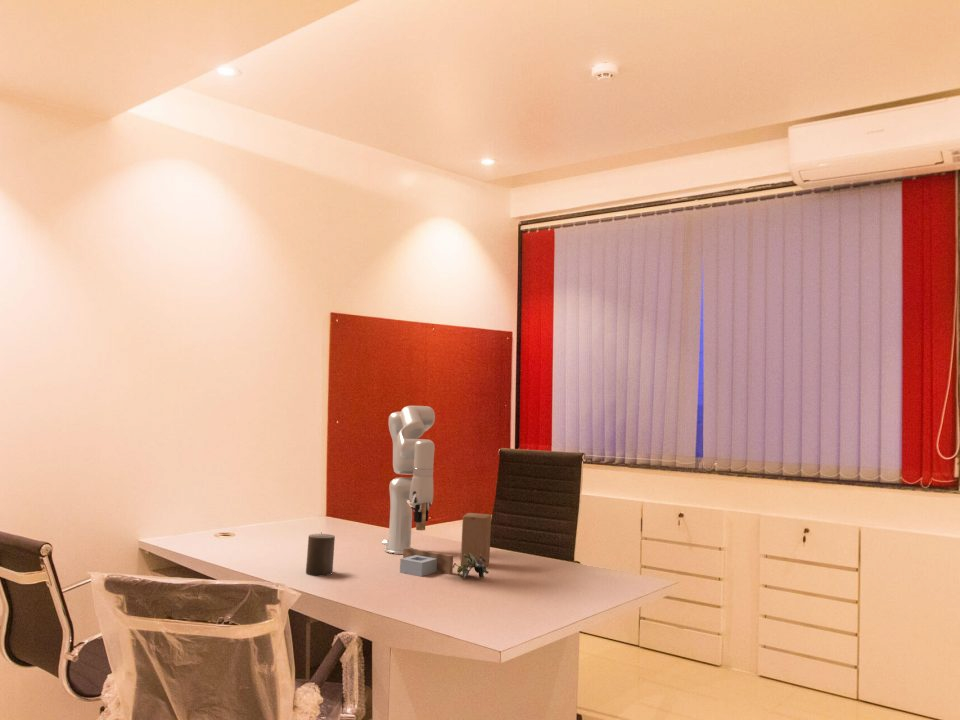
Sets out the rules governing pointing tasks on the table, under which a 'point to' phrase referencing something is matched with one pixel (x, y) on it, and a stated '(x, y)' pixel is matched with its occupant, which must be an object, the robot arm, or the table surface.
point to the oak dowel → (422, 524)
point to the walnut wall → (442, 559)
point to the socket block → (418, 565)
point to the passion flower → (473, 565)
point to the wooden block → (476, 537)
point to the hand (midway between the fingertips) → (420, 520)
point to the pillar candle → (320, 554)
